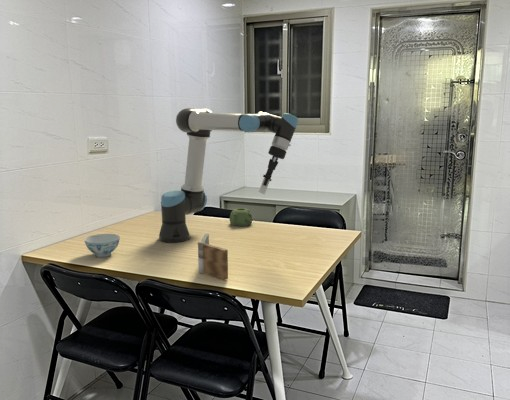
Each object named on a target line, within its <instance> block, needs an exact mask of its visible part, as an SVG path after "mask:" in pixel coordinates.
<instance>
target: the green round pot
mask: <svg viewBox="0 0 510 400" xmlns="http://www.w3.org/2000/svg"><path fill="white" fill-rule="evenodd" d="M229 221H230V222H229V223H230V224H231V225H232V226H235V227H247V226H250V225H251V224H252V223H253V216H252V213H251V211H250V209H249V208H243V207H237V208H235V209H232V211H231V212H230V215H229Z"/></svg>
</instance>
